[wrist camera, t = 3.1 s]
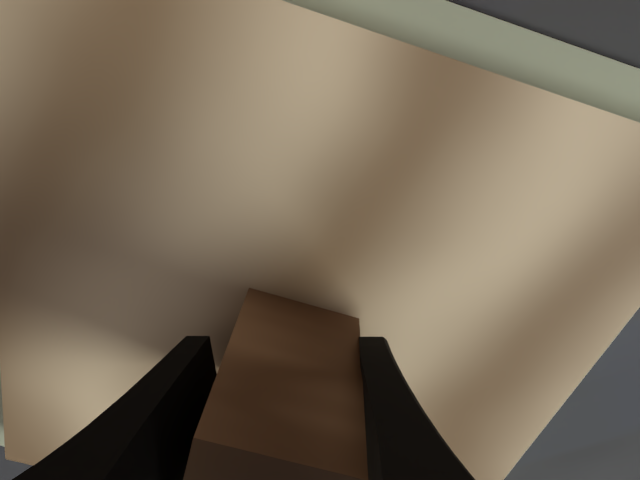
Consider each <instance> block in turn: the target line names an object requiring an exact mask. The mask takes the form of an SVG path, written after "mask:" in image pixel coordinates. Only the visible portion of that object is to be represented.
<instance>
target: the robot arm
mask: <svg viewBox="0 0 640 480" xmlns="http://www.w3.org/2000/svg"><path fill="white" fill-rule="evenodd" d="M359 352H360V368H361V374H362V380H363V395H364V413H365V431H366V449H367V466H368V480H475V479H474V477H473V476H472V475H471V474H470V473H469V471H468V470H467V469H466V468H465V466H464V465H463V464H462V463H461V461H460V460H459V459H458V458H457V456H456V455H455V454H454V453H453V451H452V450H451V449H450V447H449V446H448V445H447V443H446V442H445V440H444V439H443V438H442V436H441V435H440V433H439V432H438V431H437V429H436V428H435V426H434V425H433V423H432V422H431V420H430V419H429V417H428V416H427V414H426V413H425V411H424V410H423V408H422V407H421V405H420V403H419V402H418V400H417V398H416V397H415V395H414V393H413V392H412V390H411V388H410V387H409V385H408V383H407V381H406V380H405V378H404V376H403V374H402V372H401V370H400V368H399V366H398V365H397V362H396V360H395V358H394V356H393V354H392V352H391V349H390V347H389V344H388V341H387V340H386V339H385V338H384V337H359ZM216 375H217V373H216V368H215V362H214V357H213V352H212V346H211V341H210V336H186V337H185V338H184V339H183V340H181V341H180V342H179V343H178V344H177V345H176V346H175V347H174V348H173V349H172V350H171V351H170V352H169V353H168V354H167V355H166V356H165V357H164V358H162V359H161V360H160V361H159V362H158V363H157V364H156V365H155V366H154V367H153V368H152V369H151V370H150V371H149V372H148V373H147V374H146V375H144V376H143V377H142V378H141V379H140V380H139V381H138V382H137V383H136V384H135V385H134V386H133V387H131V388H130V389H129V390H128V391H127V392H126V393H125V394H124V395H123V396H121V397H120V398H119V399H118V400H117V401H116V402H114V403H113V404H112V405H111V406H110V407H108V408H107V409H106V410H105V411H104V412H103V413H101V414H100V415H99V416H98V417H97V418H95V419H94V420H93V421H92V422H91V423H90V424H88V425H87V426H86V427H85V428H83V429H82V430H81V431H80V432H78V433H77V434H76V435H74V436H73V437H72V438H71V439H69V440H68V441H67V442H65V443H64V444H63V445H61V446H60V447H58V448H57V449H56V450H54V451H53V452H52V453H50V454H49V455H48V456H46V457H45V458H43V459H42V460H41V461H39V462H38V463H36V464H35V465H33V466H32V467H30V468H29V469H27V470H26V471H24V472H23V473H21V474H20V475H18V476H17V477H15V478H14V479H12V480H183V478H184V474H185V470H186V466H187V462H188V457H189V453H190V449H191V445H192V441H193V437H194V434H195V432H196V429H197V426H198V424H199V421H200V418H201V416H202V413H203V410H204V408H205V405H206V402H207V399H208V397H209V394H210V391H211V389H212V386H213V383H214V381H215V378H216Z"/></svg>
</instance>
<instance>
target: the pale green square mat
mask: <svg viewBox="0 0 640 480" xmlns="http://www.w3.org/2000/svg"><path fill="white" fill-rule="evenodd" d="M282 1H285V2H288V3H291V4H294V5H297V6H300V7H303V8H306V9H308V10H311V11H314V12H317V13H320V14H323V15H326V16H329V17H332V18H335V19H338V20H341V21H344V22H347V23H349V24H352V25H355V26H358V27H361V28H364V29H367V30H370V31H373V32H376V33H379V34H382V35H385V36H388V37H390V38H393V39H396V40H399V41H402V42H405V43H408V44H411V45H414V46H417V47H420V48H423V49H426V50H429V51H431V52H434V53H437V54H440V55H443V56H446V57H449V58H452V59H455V60H458V61H461V62H464V63H467V64H469V65H472V66H475V67H478V68H481V69H484V70H487V71H490V72H493V73H496V74H499V75H502V76H505V77H508V78H510V79H513V80H516V81H519V82H522V83H525V84H528V85H531V86H534V87H537V88H540V89H543V90H546V91H549V92H551V93H554V94H557V95H560V96H563V97H566V98H569V99H572V100H575V101H578V102H581V103H584V104H587V105H590V106H592V107H595V108H598V109H601V110H604V111H607V112H610V113H613V114H616V115H619V116H622V117H625V118H628V119H631V120H633V121H636V122H639V123H640V69H638V68H635V67H633V66H630V65H627V64H624V63H621V62H618V61H616V60H613V59H610V58H607V57H604V56H602V55H599V54H596V53H593V52H590V51H587V50H585V49H582V48H579V47H576V46H573V45H570V44H568V43H565V42H562V41H559V40H556V39H553V38H551V37H548V36H545V35H542V34H539V33H536V32H534V31H531V30H528V29H525V28H522V27H520V26H517V25H514V24H511V23H508V22H505V21H503V20H500V19H497V18H494V17H491V16H488V15H486V14H483V13H480V12H477V11H474V10H471V9H469V8H466V7H463V6H460V5H457V4H454V3H452V2H449V1H446V0H282ZM638 309H639V308H638ZM638 309H637V310H638ZM634 314H635V313H634ZM634 314H633V315H634ZM631 318H632V317H631ZM631 318H630V319H631ZM630 319H629V320H630ZM627 323H628V322H627ZM627 323H626V324H627ZM623 328H624V327H623ZM623 328H622V329H623ZM619 333H620V332H619ZM619 333H618V334H619ZM616 337H617V336H616ZM616 337H615V338H616ZM612 342H613V341H612ZM612 342H611V343H612ZM608 347H609V346H608ZM608 347H607V348H608ZM604 352H605V351H604ZM604 352H603V353H604ZM601 356H602V355H601ZM601 356H600V357H601ZM597 361H598V360H597ZM597 361H596V362H597ZM593 366H594V365H593ZM593 366H592V367H593ZM589 371H590V370H589ZM589 371H588V372H589ZM586 375H587V374H586ZM586 375H585V376H586ZM582 380H583V379H582ZM582 380H581V381H582ZM578 385H579V384H578ZM578 385H577V386H578ZM574 390H575V389H574ZM571 394H572V393H571ZM571 394H570V395H571ZM567 399H568V398H567ZM567 399H566V400H567ZM563 404H564V403H563ZM563 404H562V405H563ZM559 409H560V408H559ZM556 413H557V412H556ZM556 413H555V414H556ZM552 418H553V417H552ZM552 418H551V419H552ZM548 423H549V422H548ZM548 423H547V424H548ZM544 428H545V427H544ZM541 432H542V431H541ZM541 432H540V433H541ZM537 437H538V436H537ZM537 437H536V438H537ZM533 442H534V441H533ZM0 446H4V447H5V442H4V424H3V407H2V389H1V371H0ZM530 446H531V445H530ZM530 446H529V447H530ZM526 451H527V450H526ZM526 451H525V452H526ZM522 456H523V455H522ZM522 456H521V457H522ZM518 461H519V460H518ZM515 465H516V464H515ZM515 465H514V466H515ZM511 470H512V469H511ZM511 470H510V471H511ZM507 475H508V474H507ZM507 475H506V476H507ZM503 480H504V479H503Z"/></svg>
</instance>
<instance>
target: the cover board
mask: <svg viewBox="0 0 640 480" xmlns="http://www.w3.org/2000/svg"><path fill="white" fill-rule="evenodd" d="M639 307H640V123H639V122H636V121H633V120H631V119H628V118H625V117H622V116H619V115H616V114H613V113H610V112H607V111H604V110H601V109H598V108H595V107H592V106H590V105H587V104H584V103H581V102H578V101H575V100H572V99H569V98H566V97H563V96H560V95H557V94H554V93H551V92H549V91H546V90H543V89H540V88H537V87H534V86H531V85H528V84H525V83H522V82H519V81H516V80H513V79H510V78H508V77H505V76H502V75H499V74H496V73H493V72H490V71H487V70H484V69H481V68H478V67H475V66H472V65H469V64H467V63H464V62H461V61H458V60H455V59H452V58H449V57H446V56H443V55H440V54H437V53H434V52H431V51H429V50H426V49H423V48H420V47H417V46H414V45H411V44H408V43H405V42H402V41H399V40H396V39H393V38H390V37H388V36H385V35H382V34H379V33H376V32H373V31H370V30H367V29H364V28H361V27H358V26H355V25H352V24H349V23H347V22H344V21H341V20H338V19H335V18H332V17H329V16H326V15H323V14H320V13H317V12H314V11H311V10H308V9H306V8H303V7H300V6H297V5H294V4H291V3H288V2H285V1H282V0H0V371H1V389H2V407H3V424H4V442H5V459H8V460H12V461H16V462H21V463H25V464H29V465H35V464H36V463H38V462H39V461H41V460H42V459H43V458H45V457H46V456H48V455H49V454H50V453H52V452H53V451H54V450H56V449H57V448H58V447H60V446H61V445H63V444H64V443H65V442H67V441H68V440H69V439H71V438H72V437H73V436H74V435H76V434H77V433H78V432H80V431H81V430H82V429H83V428H85V427H86V426H87V425H88V424H90V423H91V422H92V421H93V420H94V419H95V418H97V417H98V416H99V415H100V414H101V413H103V412H104V411H105V410H106V409H107V408H108V407H110V406H111V405H112V404H113V403H114V402H116V401H117V400H118V399H119V398H120V397H121V396H123V395H124V394H125V393H126V392H127V391H128V390H129V389H130V388H131V387H133V386H134V385H135V384H136V383H137V382H138V381H139V380H140V379H141V378H142V377H143V376H144V375H146V374H147V373H148V372H149V371H150V370H151V369H152V368H153V367H154V366H155V365H156V364H157V363H158V362H159V361H160V360H161V359H162V358H164V357H165V356H166V355H167V354H168V353H169V352H170V351H171V350H172V349H173V348H174V347H175V346H176V345H177V344H178V343H179V342H180V341H181V340H183V339H184V338H185V337H186V336H210V341H211V346H212V352H213V357H214V362H215V368H216V373H217V375H216V378H215V381H214V383H213V386H212V389H211V391H210V394H209V397H208V399H207V402H206V405H205V408H204V410H203V413H202V416H201V418H200V421H199V424H198V426H197V429H196V432H195V434H194V437H193V441H192V445H191V449H190V453H189V457H188V462H187V466H186V470H185V474H184V478H183V480H368V466H367V449H366V431H365V413H364V395H363V380H362V374H361V368H360V352H359V337H384V338H385V339H386V340H387V341H388V344H389V347H390V349H391V352H392V354H393V356H394V358H395V360H396V362H397V365H398V366H399V368H400V370H401V372H402V374H403V376H404V378H405V380H406V381H407V383H408V385H409V387H410V388H411V390H412V392H413V393H414V395H415V397H416V398H417V400H418V402H419V403H420V405H421V407H422V408H423V410H424V411H425V413H426V414H427V416H428V417H429V419H430V420H431V422H432V423H433V425H434V426H435V428H436V429H437V431H438V432H439V433H440V435H441V436H442V438H443V439H444V440H445V442H446V443H447V445H448V446H449V447H450V449H451V450H452V451H453V453H454V454H455V455H456V456H457V458H458V459H459V460H460V461H461V463H462V464H463V465H464V466H465V468H466V469H467V470H468V471H469V473H470V474H471V475H472V476H473V477H474V479H475V480H503V479H504V478H505V477H506V475H507V474H508V473H509V472H510V470H511V469H512V468H513V467H514V465H515V464H516V463H517V462H518V460H519V459H520V458H521V456H522V455H523V454H524V453H525V451H526V450H527V449H528V448H529V446H530V445H531V444H532V443H533V441H534V440H535V439H536V437H537V436H538V435H539V434H540V432H541V431H542V430H543V429H544V427H545V426H546V425H547V423H548V422H549V421H550V420H551V418H552V417H553V416H554V415H555V413H556V412H557V411H558V410H559V408H560V407H561V406H562V404H563V403H564V402H565V401H566V399H567V398H568V397H569V396H570V394H571V393H572V392H573V391H574V389H575V388H576V387H577V385H578V384H579V383H580V382H581V380H582V379H583V378H584V377H585V375H586V374H587V373H588V371H589V370H590V369H591V368H592V366H593V365H594V364H595V363H596V361H597V360H598V359H599V358H600V356H601V355H602V354H603V352H604V351H605V350H606V349H607V347H608V346H609V345H610V344H611V342H612V341H613V340H614V339H615V337H616V336H617V335H618V333H619V332H620V331H621V330H622V328H623V327H624V326H625V325H626V323H627V322H628V321H629V319H630V318H631V317H632V316H633V314H634V313H635V312H636V311H637V309H638V308H639Z"/></svg>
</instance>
